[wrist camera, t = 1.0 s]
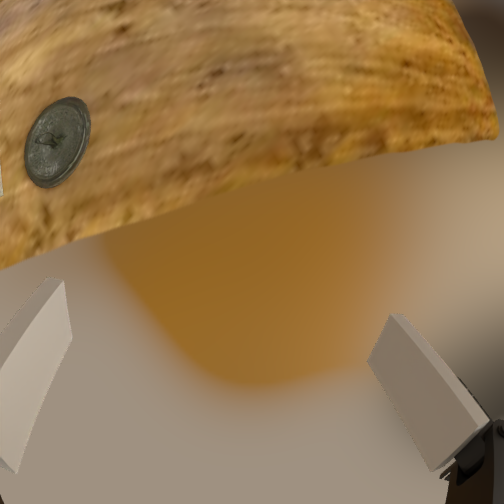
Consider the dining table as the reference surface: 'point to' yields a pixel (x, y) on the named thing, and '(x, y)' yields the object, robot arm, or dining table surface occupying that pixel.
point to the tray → (0, 189)
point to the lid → (57, 142)
